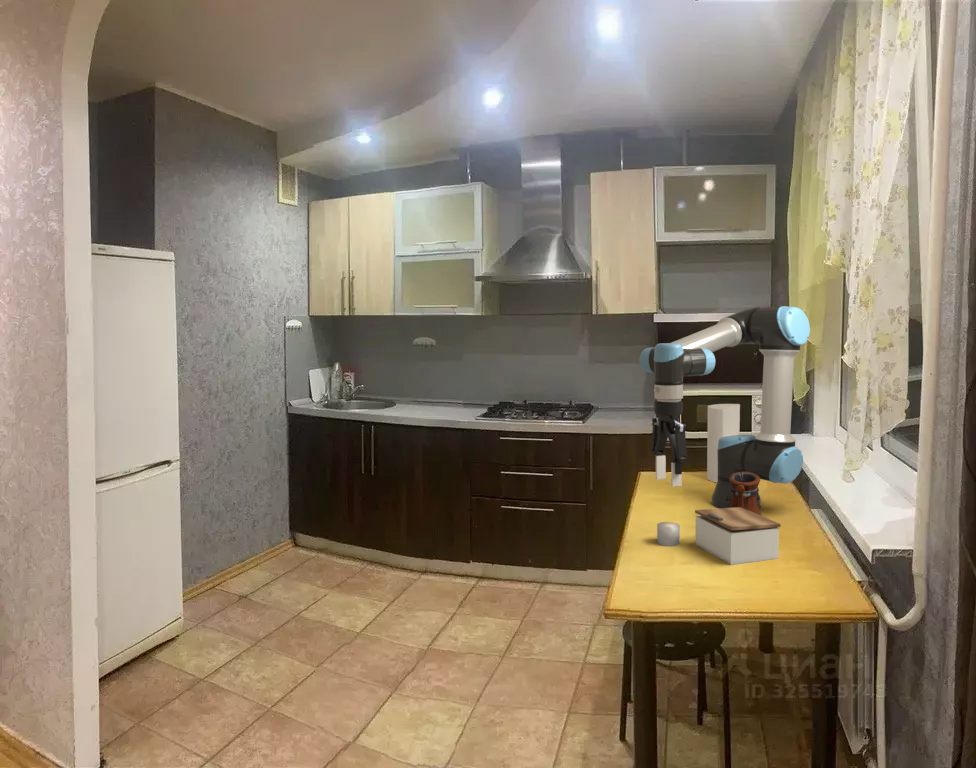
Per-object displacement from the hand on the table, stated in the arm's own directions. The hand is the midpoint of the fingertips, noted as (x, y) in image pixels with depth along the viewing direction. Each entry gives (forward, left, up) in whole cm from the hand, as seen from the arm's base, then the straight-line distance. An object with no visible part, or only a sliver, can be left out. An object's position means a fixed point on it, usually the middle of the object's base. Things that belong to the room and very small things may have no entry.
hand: (668, 482), depth 185 cm
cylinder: (-59, -56, -17) cm, 83 cm away
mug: (-28, -6, -17) cm, 34 cm away
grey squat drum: (0, 0, -17) cm, 17 cm away
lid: (-13, +12, -9) cm, 20 cm away
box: (-13, +12, -17) cm, 25 cm away
